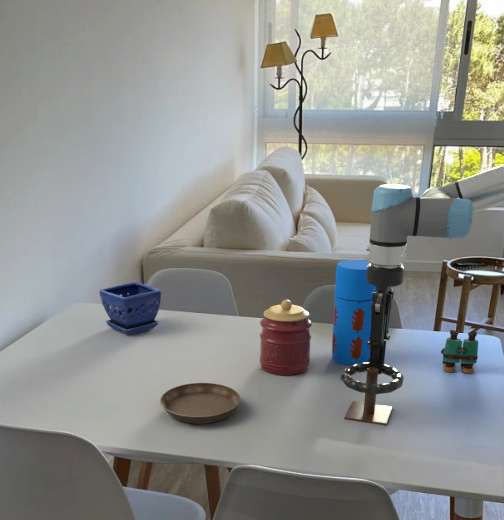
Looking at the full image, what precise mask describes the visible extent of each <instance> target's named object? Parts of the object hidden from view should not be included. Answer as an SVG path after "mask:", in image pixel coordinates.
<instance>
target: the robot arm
mask: <svg viewBox="0 0 504 520" xmlns="http://www.w3.org/2000/svg"><path fill="white" fill-rule="evenodd" d="M503 204H504V163H503V164H501V165H499V166H496V167H495V166H494V167H492V168H489V169H486V170H483V171H481V172H479V173H475V174H472V175H470V176H467V177H464V178H462V179H460V180H457V181H454V182H451V183H448V184H445V185H442V186H433V187H430V188H427V189H426V190H425V191H424V192H423V193H422V194H421V196H415V195H413V189H412V187H411V186H409V185H405V184H393V183H392V184H391V183H390V184H381V185H378V186H377V187H376V188H375V189H374V191H373V196H372V203H371V213H370V226H369V227H370V228H369V230H370V231H369V245H368V246H366V247H365V251H366V252H368V253H367V254H368V255H367V256H368V257H367V261H369V262H370V264H369V265H368V266H367V276H366V281H367V282H368V283H369V284H371V285H375V286H376V289H375V292H373V294H372V301H373V302H372V304H371V307H372V315H371V331H370V341H368V343H367V345H371V350H370V361H369V367H375V368H378V375H382V373H381V372H382V364H385V358H386V348H387V341H390V339H391V336H390V335H388V334H389V330H390V329H389V328H390V321H391V320H390V319H391V310H392V306H393V305H392V304H393V299H394V295H395V294H394V293H395V291H394V289H393V287H394V288H395V287H398V286H400V285H402V284H403V282H404V275H405V266H403V265H404V264H405V263H406V256H407V249H408V248H407V247H408V237H424V238H425V237H427V238H428V237H429V238H430V237H431V238H443V239H444V238H445V239H449V240H450V239H451V240H452V239H458V238H459V239H464V238H467V237H468V236H469V235H470V232H471V229H472V225H473V217H474V214H476V213H479V212H482V211H485V210H488V209H491V208H494V207H497V206H500V205H503Z"/></svg>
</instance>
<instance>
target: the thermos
mask: <svg viewBox="0 0 504 520" xmlns="http://www.w3.org/2000/svg"><path fill="white" fill-rule="evenodd" d="M369 264H370V262H369V261H368V260H365V259H346V260H341V261H339V262H337V264H336V269H335V286H334V304H333V319H332V320H333V322H332V339H331V358H332V360H333V361H334V362H336V363H337V364H340V365H346V366H351V365H353V364H357V363H367V362H369V361H370V350H371V345H367V343H368V341H370V331H371V315H372V307H371V304H372V302H373V301H372V294H373V292H375V289H376V286H375V285H371V284H369V283H368V282H367V281H366V276H367V266H368V265H369Z"/></svg>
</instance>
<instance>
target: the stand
mask: <svg viewBox="0 0 504 520" xmlns="http://www.w3.org/2000/svg"><path fill="white" fill-rule="evenodd" d="M378 379H379V374H378V368H375V367H369V368H367V372H366V377H365V383H367V384H378ZM363 400H364V401H363V402H362V401H357V400H356V401H355V400H352V401H351V404H350V406H349V407H348V410H347V411H346V413H345V415H344V417H343V419H344V420H345V421H353V422H359V423H366V424H371V425H372V424H373V425H379V426H387V425H388V423H389V420H390V417H391V414H392V412H393V409H394V406H392V405H384V404H377V403H376V400H377V394H369V393H364V399H363Z"/></svg>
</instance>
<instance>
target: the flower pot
mask: <svg viewBox="0 0 504 520" xmlns="http://www.w3.org/2000/svg"><path fill="white" fill-rule="evenodd" d="M99 296H100V300H101V304H102V306H103V309H104V311H105V313H106V314H107V316H108V318H109V319H108V320H105V323H106V324H107V326H108V327H110V328H111V329H113V330H115V331H117V332H120V333H122V334H124V335H126V336H130V335H133V334H134V335H135V334H138V333H141V332H144V331H145V332H146V331H148V330H152V329H155V328H157V326H158V324H159V321H158V320H156V318H157V315H158V313H159V310H160V306H161V301H162V300H161V299H162V291H161V289H159V288H156V287H153V286H151V285H148V284H145V283H142V282H138V281H133V282H128V283H122V284H117V285H114V286H110V287H106V288H102V289H99Z"/></svg>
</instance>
